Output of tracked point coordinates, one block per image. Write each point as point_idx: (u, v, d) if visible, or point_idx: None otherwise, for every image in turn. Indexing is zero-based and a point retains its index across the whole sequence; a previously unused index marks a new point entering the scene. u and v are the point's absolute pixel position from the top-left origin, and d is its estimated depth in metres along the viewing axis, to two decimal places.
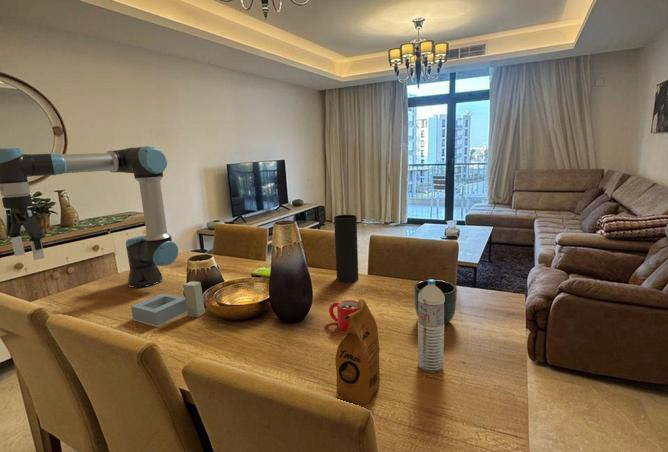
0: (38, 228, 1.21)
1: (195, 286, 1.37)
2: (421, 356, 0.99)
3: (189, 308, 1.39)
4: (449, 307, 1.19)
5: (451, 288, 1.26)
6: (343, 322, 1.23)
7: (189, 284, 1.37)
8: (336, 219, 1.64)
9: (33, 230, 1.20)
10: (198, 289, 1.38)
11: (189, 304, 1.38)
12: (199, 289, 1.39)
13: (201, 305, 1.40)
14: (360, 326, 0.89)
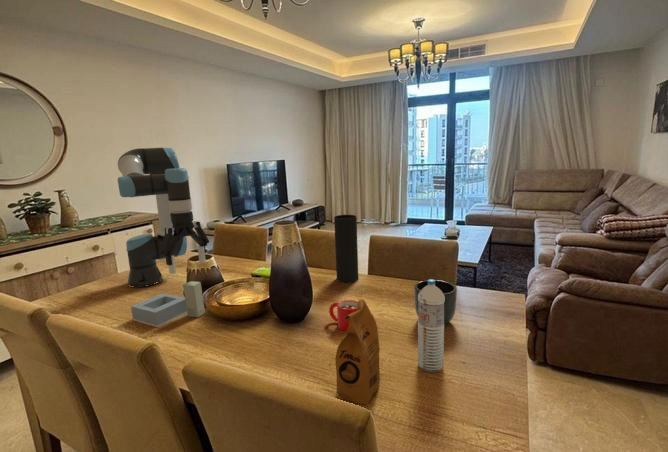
0: (165, 246, 1.27)
1: (195, 286, 1.37)
2: (421, 356, 0.99)
3: (189, 308, 1.39)
4: (449, 307, 1.19)
5: (451, 288, 1.26)
6: (343, 322, 1.23)
7: (189, 284, 1.37)
8: (336, 219, 1.64)
9: (162, 247, 1.28)
10: (198, 289, 1.38)
11: (189, 304, 1.38)
12: (199, 289, 1.39)
13: (201, 305, 1.40)
14: (360, 326, 0.89)
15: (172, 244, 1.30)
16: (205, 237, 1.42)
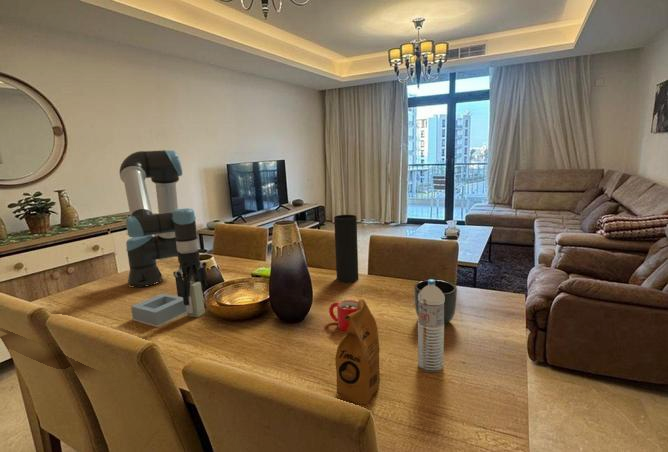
0: (180, 289, 1.33)
1: (195, 286, 1.37)
2: (421, 356, 0.99)
3: None
4: (449, 307, 1.19)
5: (451, 288, 1.26)
6: (343, 322, 1.23)
7: None
8: (336, 219, 1.64)
9: (177, 289, 1.34)
10: (198, 289, 1.38)
11: None
12: (199, 289, 1.39)
13: (201, 305, 1.40)
14: (360, 326, 0.89)
15: (186, 286, 1.35)
16: (205, 280, 1.43)
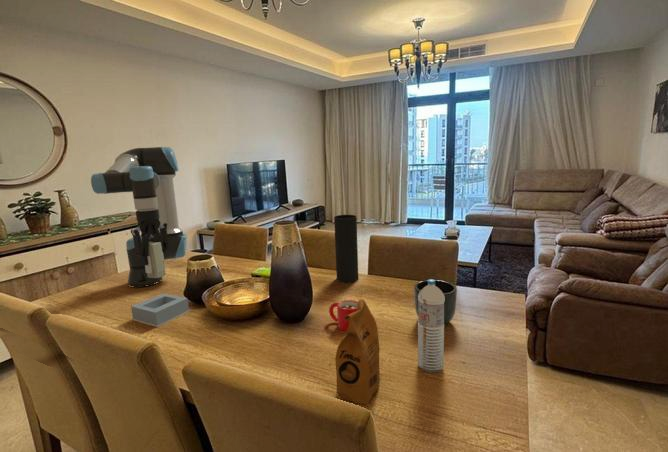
0: (137, 247, 1.30)
1: (154, 246, 1.34)
2: (421, 356, 0.99)
3: None
4: (449, 307, 1.19)
5: (451, 288, 1.26)
6: (343, 322, 1.23)
7: None
8: (336, 219, 1.64)
9: (135, 248, 1.31)
10: (158, 249, 1.36)
11: None
12: (159, 250, 1.36)
13: (161, 266, 1.37)
14: (359, 326, 0.89)
15: (144, 245, 1.32)
16: (166, 241, 1.40)
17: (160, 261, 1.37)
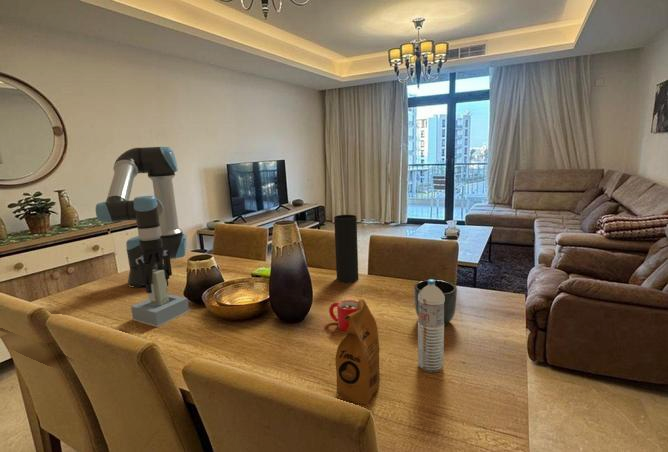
0: (141, 276, 1.32)
1: (158, 274, 1.36)
2: (421, 356, 0.99)
3: None
4: (449, 307, 1.19)
5: (451, 288, 1.26)
6: (343, 322, 1.23)
7: (152, 272, 1.37)
8: (336, 219, 1.64)
9: (139, 277, 1.33)
10: (161, 277, 1.38)
11: None
12: (162, 277, 1.38)
13: (164, 293, 1.39)
14: (360, 326, 0.89)
15: (148, 273, 1.34)
16: (169, 268, 1.42)
17: (163, 288, 1.39)
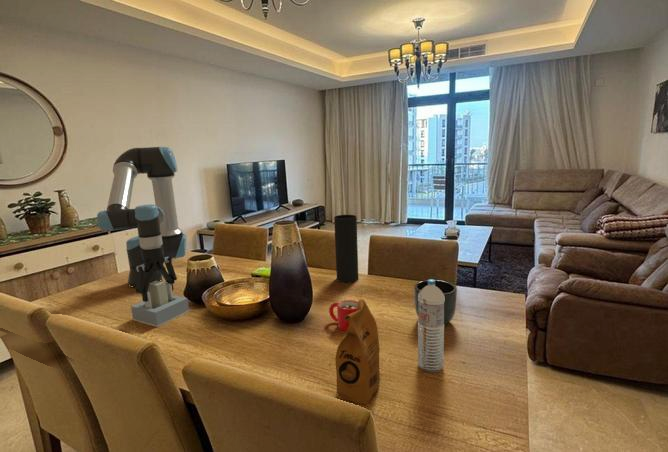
0: (139, 284, 1.32)
1: (159, 286, 1.37)
2: (421, 356, 0.99)
3: (153, 307, 1.39)
4: (449, 307, 1.19)
5: (451, 288, 1.26)
6: (343, 322, 1.23)
7: (153, 284, 1.38)
8: (336, 219, 1.64)
9: (136, 285, 1.32)
10: (162, 289, 1.38)
11: (154, 304, 1.38)
12: (163, 289, 1.39)
13: None
14: (359, 326, 0.89)
15: (146, 281, 1.34)
16: (174, 274, 1.44)
17: (164, 300, 1.39)
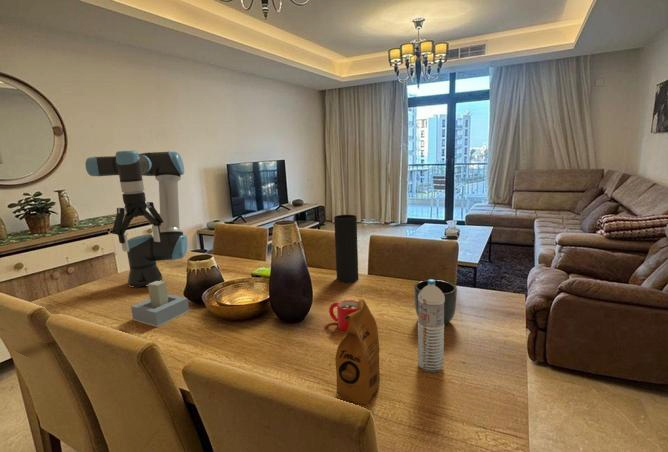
0: (117, 225, 1.34)
1: (159, 286, 1.37)
2: (421, 356, 0.99)
3: (153, 307, 1.39)
4: (449, 307, 1.19)
5: (451, 288, 1.26)
6: (343, 322, 1.23)
7: (153, 284, 1.38)
8: (336, 219, 1.64)
9: (114, 226, 1.34)
10: (162, 289, 1.38)
11: (154, 304, 1.39)
12: (164, 289, 1.39)
13: None
14: (359, 326, 0.89)
15: (125, 224, 1.36)
16: (159, 217, 1.49)
17: (164, 300, 1.39)
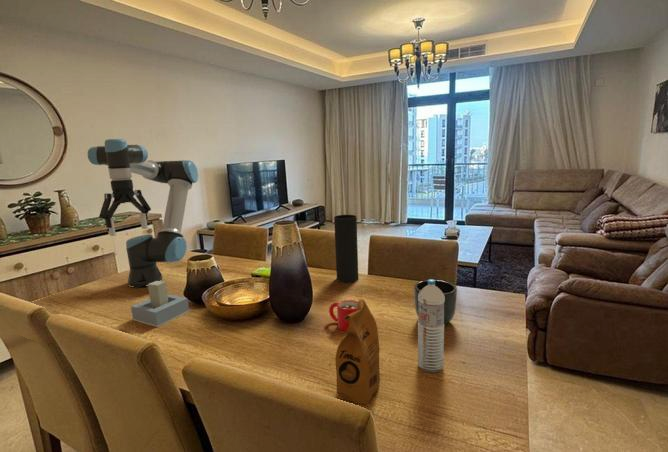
0: (104, 210, 1.39)
1: (159, 286, 1.37)
2: (421, 356, 0.99)
3: (153, 307, 1.39)
4: (449, 307, 1.19)
5: (451, 288, 1.26)
6: (343, 323, 1.23)
7: (153, 284, 1.38)
8: (336, 219, 1.64)
9: (101, 210, 1.40)
10: (162, 289, 1.38)
11: (154, 304, 1.39)
12: (164, 289, 1.39)
13: None
14: (359, 326, 0.89)
15: (112, 209, 1.41)
16: (147, 205, 1.54)
17: (164, 300, 1.39)
